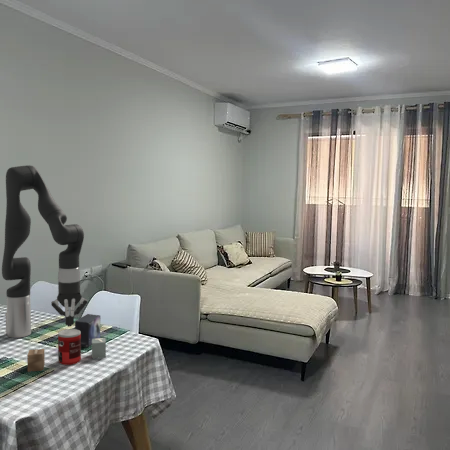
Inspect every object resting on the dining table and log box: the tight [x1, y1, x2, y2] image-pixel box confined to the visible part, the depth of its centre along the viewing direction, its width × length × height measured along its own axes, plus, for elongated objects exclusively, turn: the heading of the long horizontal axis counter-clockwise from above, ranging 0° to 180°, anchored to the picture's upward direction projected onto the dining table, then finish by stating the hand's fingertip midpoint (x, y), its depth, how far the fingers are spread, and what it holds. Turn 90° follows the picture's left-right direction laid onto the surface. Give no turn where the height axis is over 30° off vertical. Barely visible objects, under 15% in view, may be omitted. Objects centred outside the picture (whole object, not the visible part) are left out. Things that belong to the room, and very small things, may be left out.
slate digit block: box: [91, 337, 107, 360], centre depth 171 cm, size 5×5×6 cm
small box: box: [74, 313, 101, 348], centre depth 184 cm, size 11×6×10 cm, turn 168°
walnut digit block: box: [26, 348, 45, 373], centre depth 159 cm, size 5×5×6 cm
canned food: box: [57, 328, 82, 366], centre depth 165 cm, size 8×8×11 cm
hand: (69, 325), depth 164 cm, fingers closed
